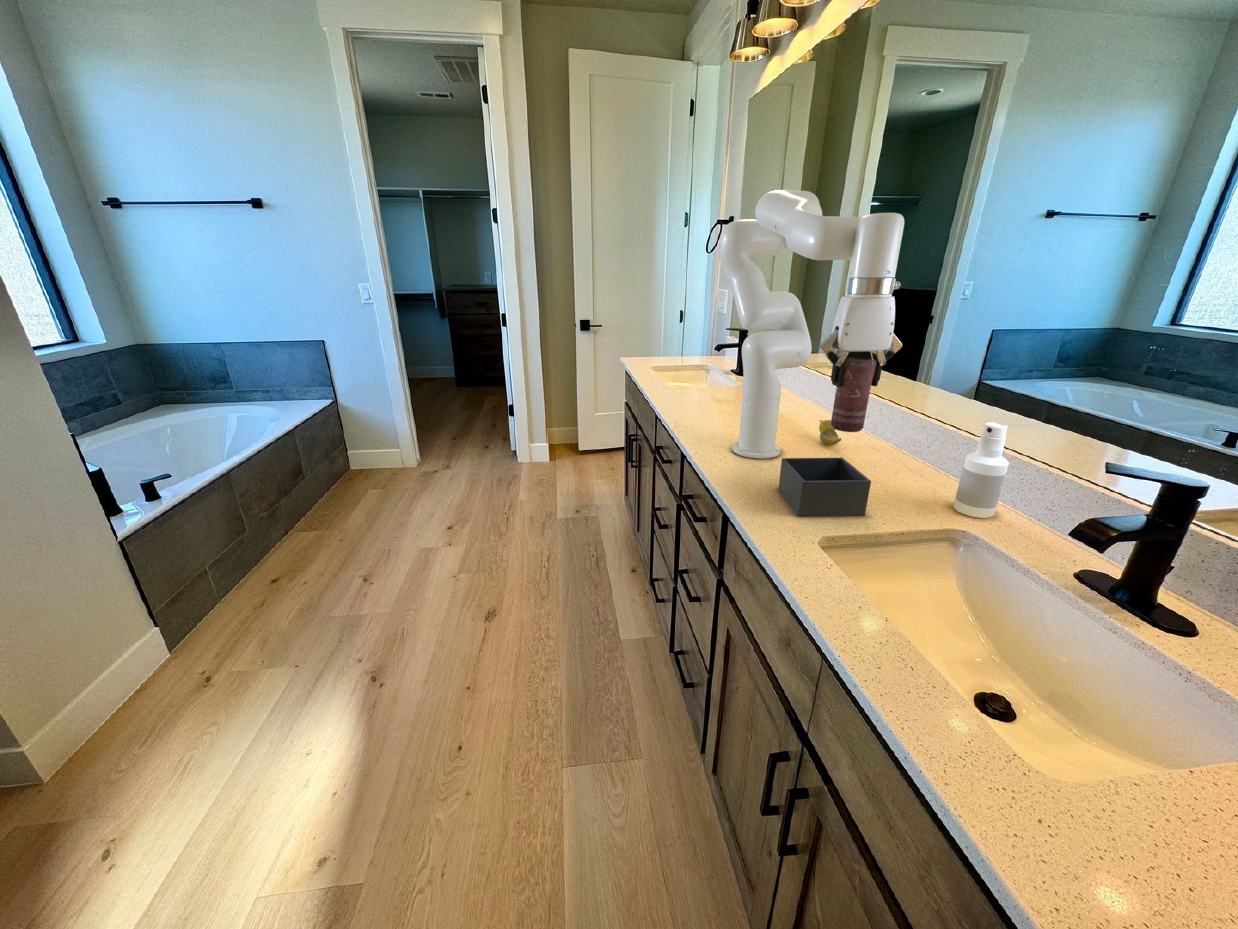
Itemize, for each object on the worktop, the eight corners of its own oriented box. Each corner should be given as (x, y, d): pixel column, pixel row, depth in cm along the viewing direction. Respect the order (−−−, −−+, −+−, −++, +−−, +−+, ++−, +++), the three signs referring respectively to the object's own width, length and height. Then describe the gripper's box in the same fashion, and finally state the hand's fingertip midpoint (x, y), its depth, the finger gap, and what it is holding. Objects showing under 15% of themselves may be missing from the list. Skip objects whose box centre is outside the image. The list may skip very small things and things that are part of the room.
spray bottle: (945, 506, 100) (966, 422, 94) (968, 501, 103) (990, 418, 96) (978, 521, 94) (1003, 431, 88) (1002, 515, 97) (1028, 427, 90)
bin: (778, 489, 110) (781, 458, 107) (837, 488, 110) (842, 457, 107) (798, 516, 97) (802, 481, 95) (864, 515, 97) (871, 481, 95)
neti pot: (825, 436, 145) (828, 414, 143) (846, 453, 131) (850, 429, 129) (810, 436, 145) (813, 414, 143) (830, 453, 131) (833, 429, 129)
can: (868, 433, 97) (881, 361, 92) (833, 431, 98) (845, 361, 93) (859, 424, 102) (872, 356, 97) (827, 423, 103) (838, 355, 98)
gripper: (905, 287, 94) (887, 380, 100) (815, 288, 94) (803, 382, 100) (928, 288, 87) (908, 388, 93) (831, 289, 87) (818, 390, 93)
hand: (854, 384), depth 97 cm, fingers closed on can, 6 cm apart
